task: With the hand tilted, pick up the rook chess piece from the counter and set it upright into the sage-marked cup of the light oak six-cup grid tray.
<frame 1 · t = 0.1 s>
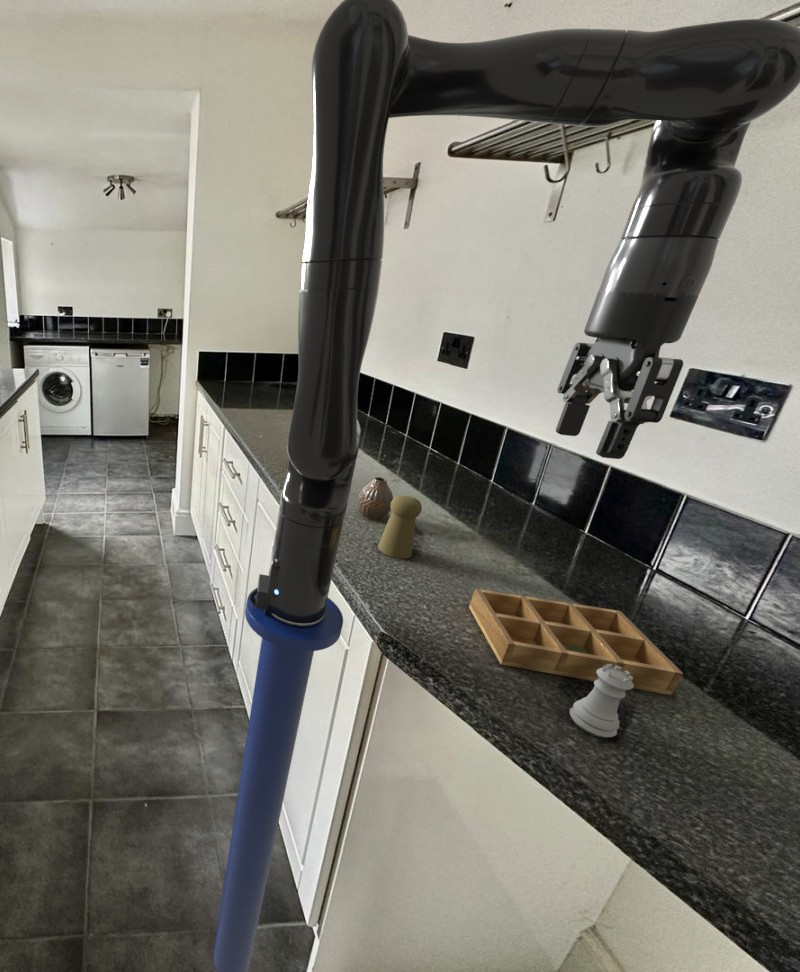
hand: (586, 445, 56), 32 cm above the table, tool pointing down, fingers open, 8 cm apart
grid: (558, 646, 73), on the table
vase: (371, 516, 111), on the table
rook chess piece: (590, 725, 60), on the table
cork: (394, 551, 97), on the table
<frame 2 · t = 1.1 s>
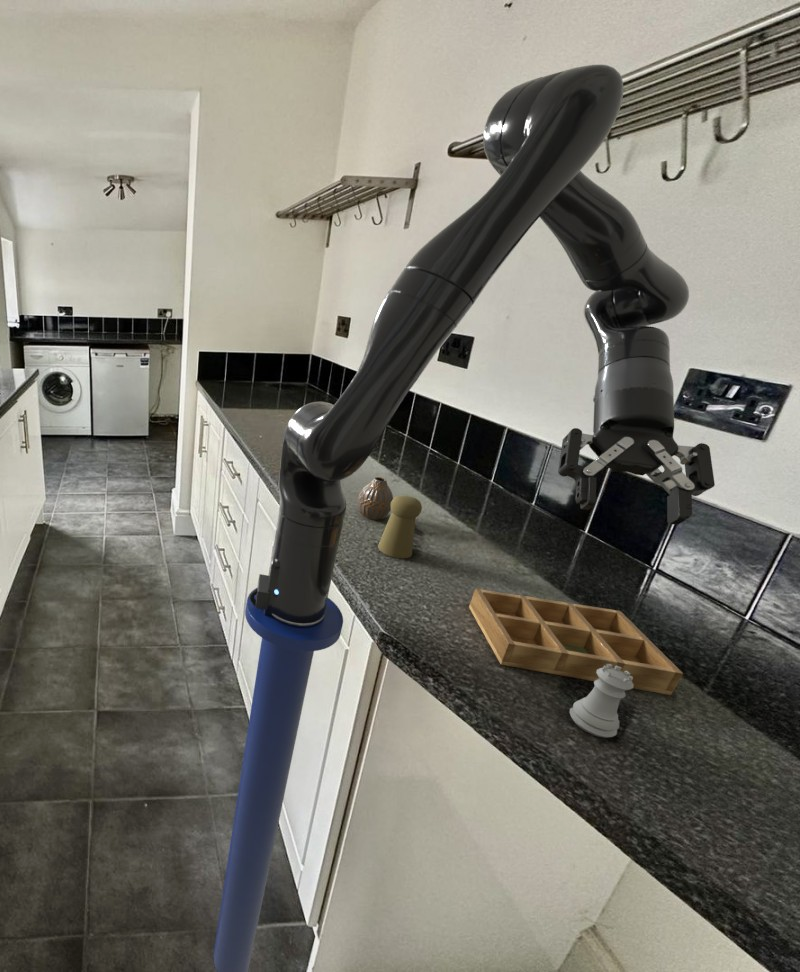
hand: (631, 514, 61), 23 cm above the table, tool tilted 45°, fingers open, 8 cm apart
nothing on the table moved.
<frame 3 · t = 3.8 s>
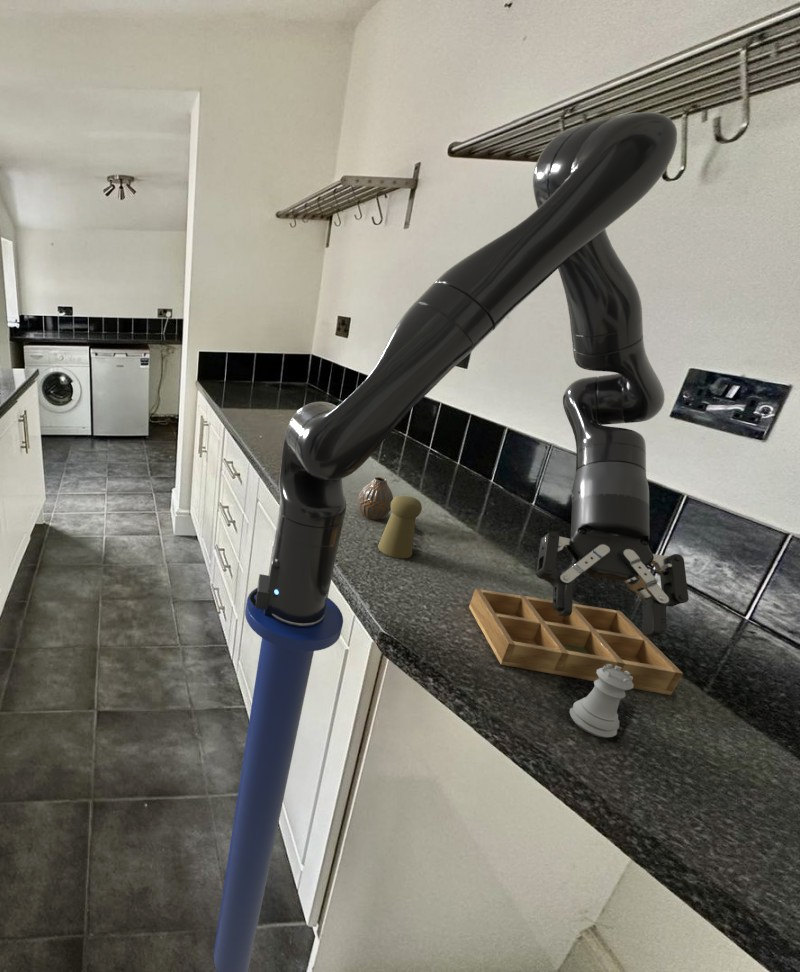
hand: (607, 625, 61), 10 cm above the table, tool tilted 45°, fingers open, 8 cm apart
nothing on the table moved.
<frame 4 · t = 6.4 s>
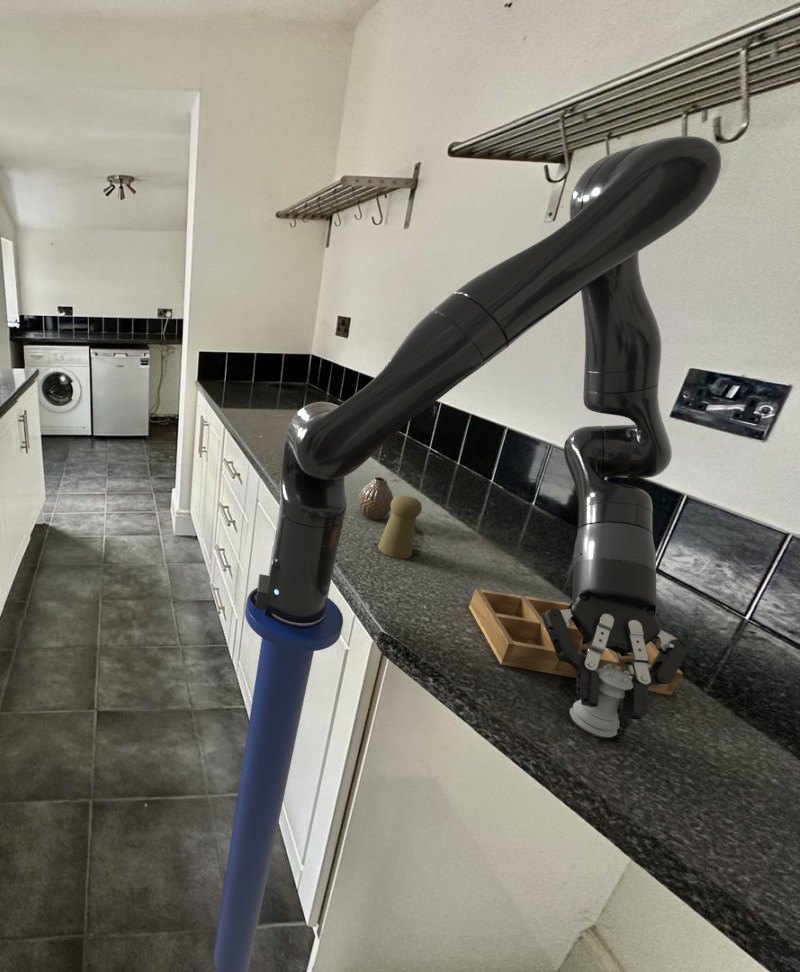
hand: (610, 711, 57), 4 cm above the table, tool tilted 45°, fingers closed on rook chess piece, 3 cm apart
rook chess piece: (590, 725, 60), on the table, touching gripper
everything else where it was.
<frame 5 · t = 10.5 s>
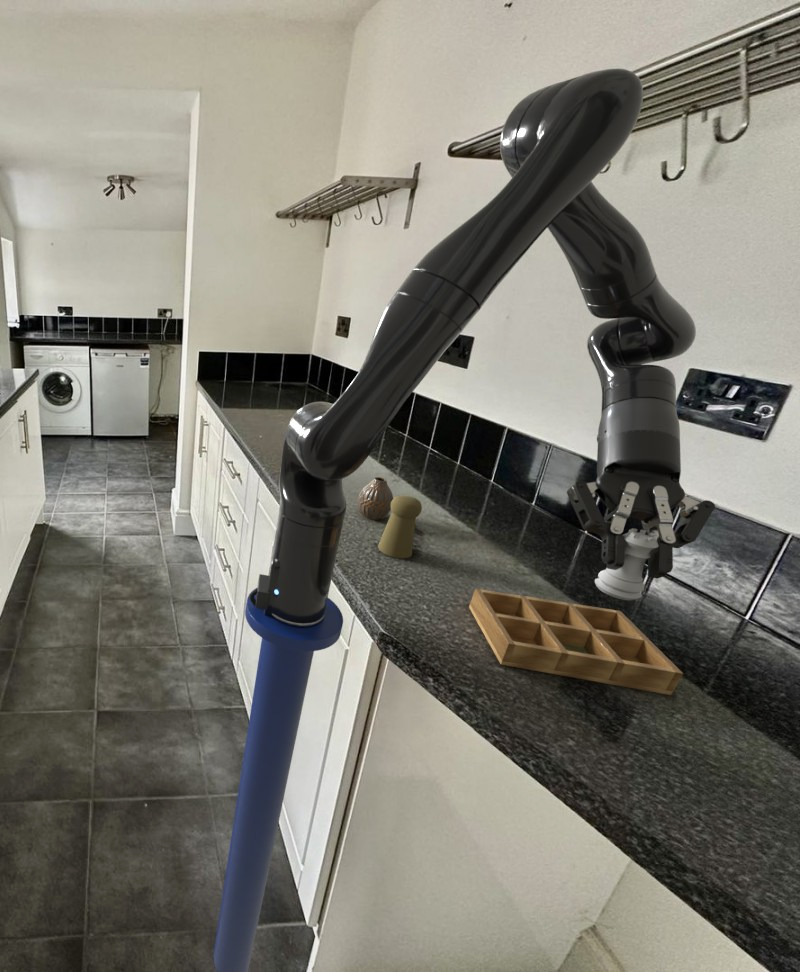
hand: (636, 571, 58), 18 cm above the table, tool tilted 45°, fingers closed on rook chess piece, 3 cm apart
rook chess piece: (615, 592, 62), point 14 cm above the table, touching gripper
everything else where it was.
when the fingers open (5 cm above the table, at t = 14.7 s): rook chess piece stays where it is, resting on grid.
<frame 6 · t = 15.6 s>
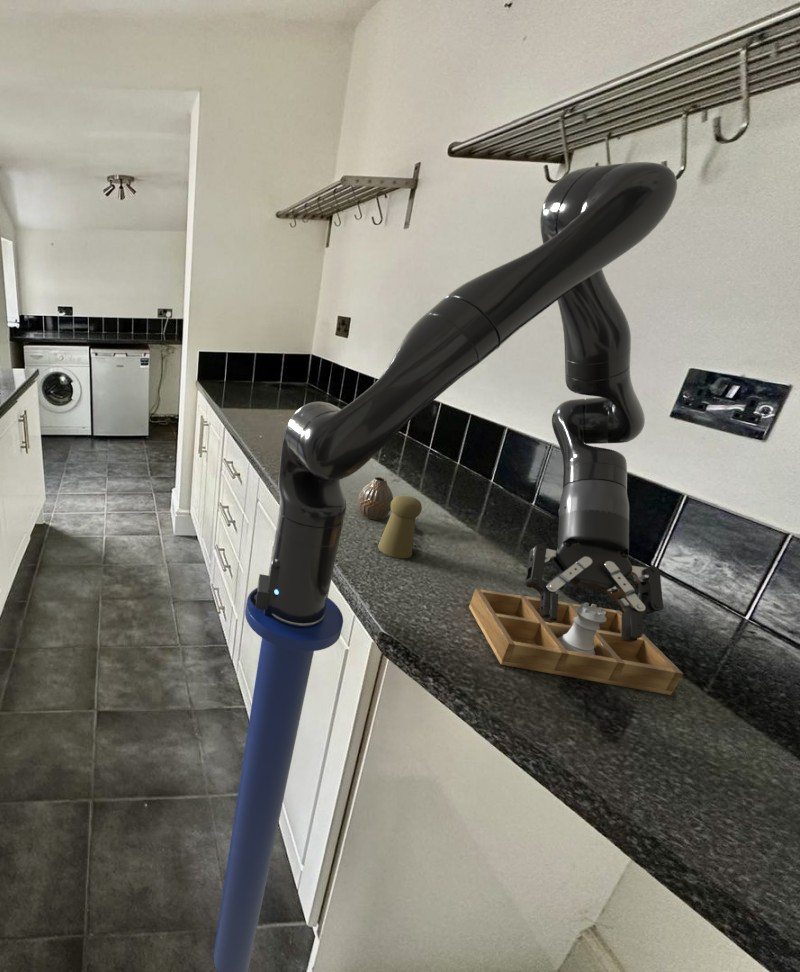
hand: (589, 631, 66), 6 cm above the table, tool tilted 45°, fingers open, 8 cm apart
rook chess piece: (571, 657, 70), point 1 cm above the table, touching grid
everything else where it was.
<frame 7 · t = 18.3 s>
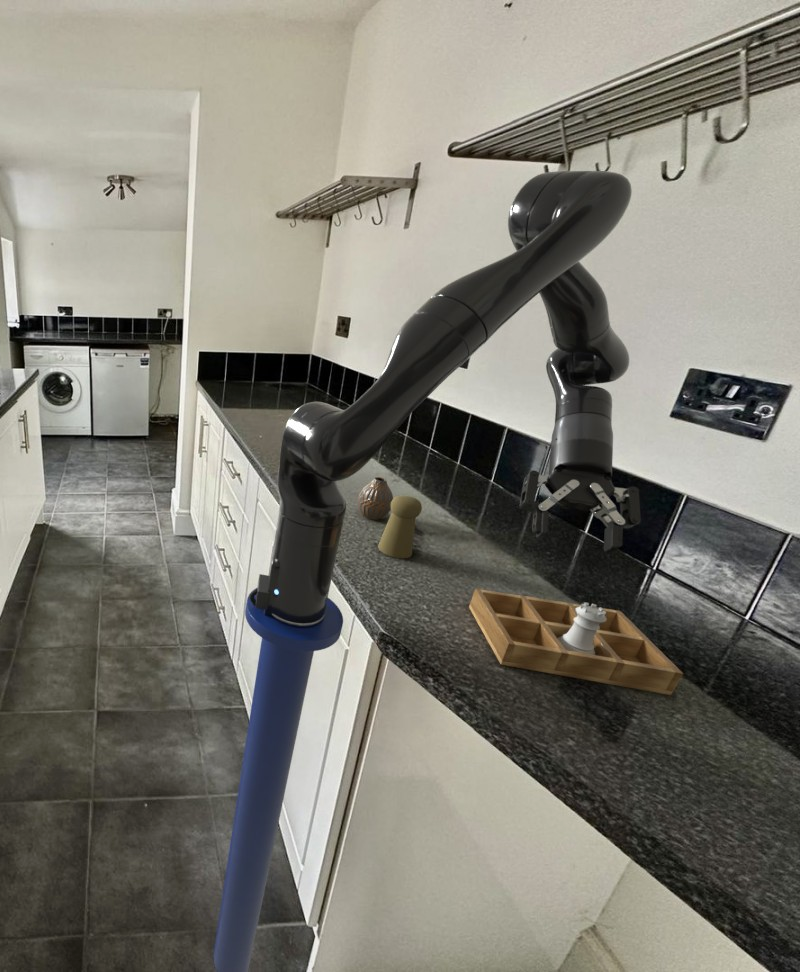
hand: (575, 543, 75), 13 cm above the table, tool tilted 45°, fingers open, 8 cm apart
nothing on the table moved.
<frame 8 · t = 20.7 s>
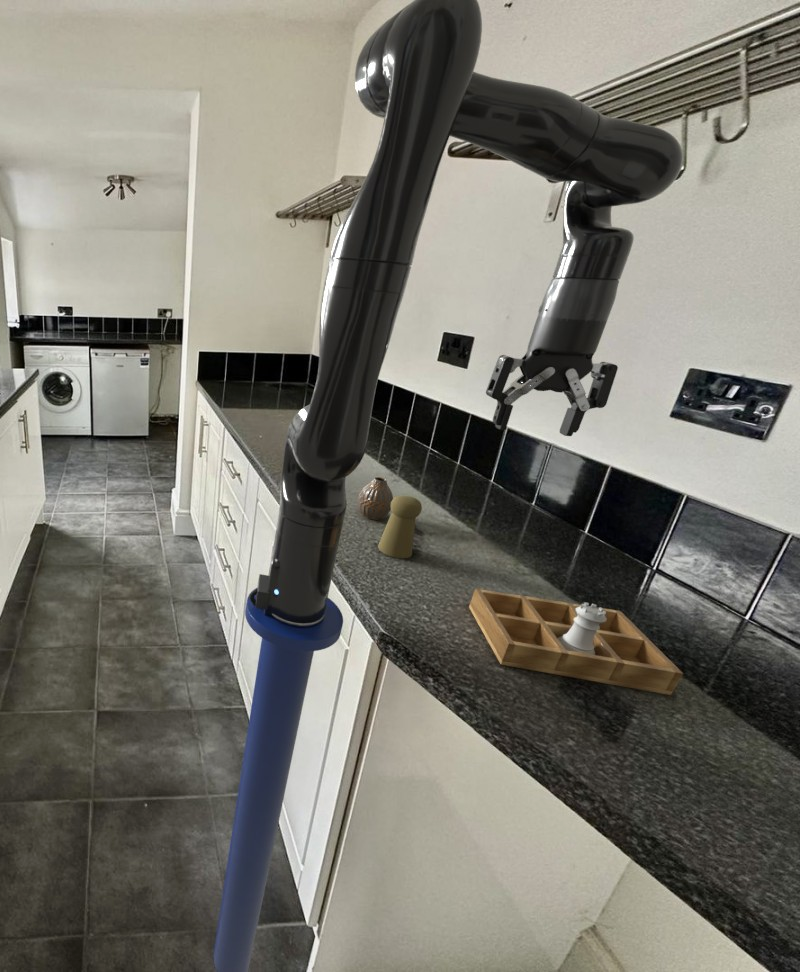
hand: (532, 431, 74), 28 cm above the table, tool pointing down, fingers open, 8 cm apart
nothing on the table moved.
at the end: rook chess piece 0.2 cm from the target spot in the grid, point 0.6 cm above the grid's base; rook chess piece tilted 0°; the gripper is holding nothing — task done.
